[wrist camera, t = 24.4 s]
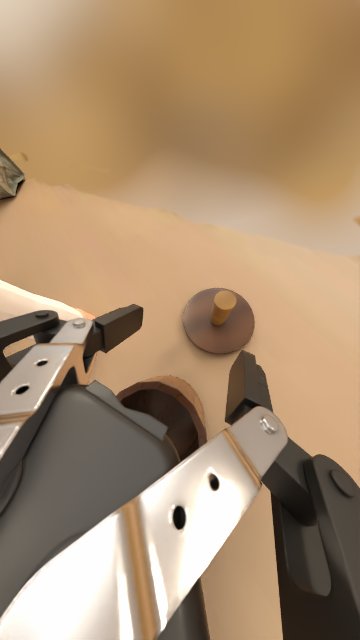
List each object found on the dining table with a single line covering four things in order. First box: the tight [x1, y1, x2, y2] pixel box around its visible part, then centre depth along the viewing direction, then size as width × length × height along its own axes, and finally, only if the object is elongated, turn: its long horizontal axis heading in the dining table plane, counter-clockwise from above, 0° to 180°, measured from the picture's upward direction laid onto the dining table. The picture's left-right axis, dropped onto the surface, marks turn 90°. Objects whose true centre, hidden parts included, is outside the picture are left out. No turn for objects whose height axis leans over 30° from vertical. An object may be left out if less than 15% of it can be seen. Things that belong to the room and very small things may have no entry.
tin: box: [116, 376, 207, 462], centre depth 17 cm, size 12×12×8 cm
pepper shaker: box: [0, 280, 95, 340], centre depth 19 cm, size 7×7×19 cm
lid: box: [183, 288, 254, 354], centre depth 21 cm, size 12×12×8 cm
